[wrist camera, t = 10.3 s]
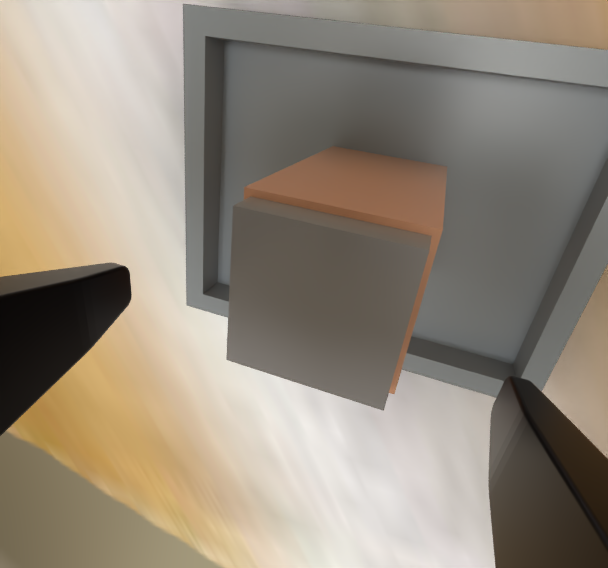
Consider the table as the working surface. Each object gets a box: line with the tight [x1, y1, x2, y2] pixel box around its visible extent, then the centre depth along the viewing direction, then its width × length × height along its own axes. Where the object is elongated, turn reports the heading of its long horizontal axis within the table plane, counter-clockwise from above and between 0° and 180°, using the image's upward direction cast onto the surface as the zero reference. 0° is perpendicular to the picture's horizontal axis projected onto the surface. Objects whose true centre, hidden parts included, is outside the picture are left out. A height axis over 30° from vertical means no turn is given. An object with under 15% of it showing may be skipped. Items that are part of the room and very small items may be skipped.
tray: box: [183, 4, 608, 398], centre depth 18 cm, size 18×14×2 cm
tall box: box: [227, 146, 447, 410], centre depth 14 cm, size 5×5×10 cm
